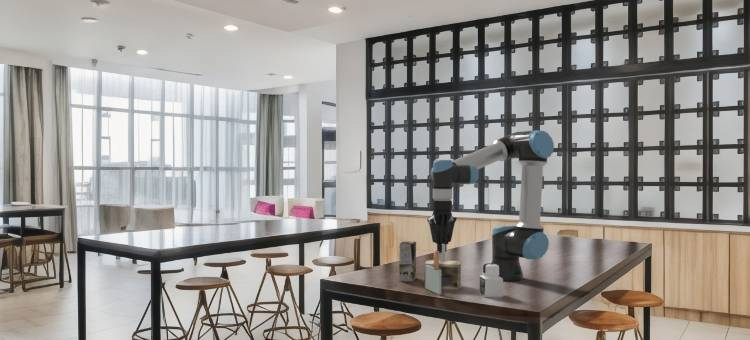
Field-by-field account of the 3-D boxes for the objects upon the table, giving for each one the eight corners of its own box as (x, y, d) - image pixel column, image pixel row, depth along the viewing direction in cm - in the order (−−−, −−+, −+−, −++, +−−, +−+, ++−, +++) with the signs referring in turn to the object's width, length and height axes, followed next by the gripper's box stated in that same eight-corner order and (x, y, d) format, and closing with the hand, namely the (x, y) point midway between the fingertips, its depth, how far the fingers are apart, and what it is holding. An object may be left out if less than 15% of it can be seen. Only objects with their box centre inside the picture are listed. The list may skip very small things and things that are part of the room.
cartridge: (449, 283, 232) (449, 276, 232) (448, 285, 228) (448, 278, 228) (437, 283, 233) (437, 275, 233) (436, 285, 229) (436, 277, 229)
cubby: (460, 285, 234) (460, 261, 234) (459, 289, 225) (460, 264, 225) (426, 283, 237) (427, 259, 237) (424, 288, 228) (424, 263, 228)
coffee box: (413, 282, 240) (413, 244, 240) (398, 281, 242) (399, 243, 242) (416, 278, 249) (416, 241, 249) (402, 277, 251) (402, 240, 251)
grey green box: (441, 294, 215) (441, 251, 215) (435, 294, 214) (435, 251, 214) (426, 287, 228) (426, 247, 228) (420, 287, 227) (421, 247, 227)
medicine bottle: (479, 293, 219) (479, 262, 219) (497, 293, 219) (497, 262, 219) (484, 297, 212) (484, 265, 212) (503, 297, 212) (503, 265, 212)
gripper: (449, 198, 224) (448, 258, 225) (423, 199, 217) (422, 260, 218) (461, 199, 218) (460, 260, 218) (435, 200, 211) (434, 263, 211)
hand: (441, 260), depth 218 cm, fingers closed
